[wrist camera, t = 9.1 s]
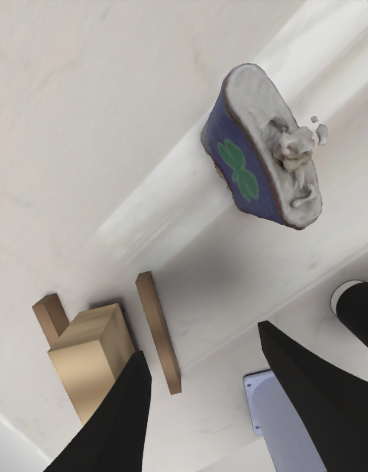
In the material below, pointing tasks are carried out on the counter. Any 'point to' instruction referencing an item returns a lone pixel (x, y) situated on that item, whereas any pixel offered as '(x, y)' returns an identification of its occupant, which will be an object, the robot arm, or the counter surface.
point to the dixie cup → (352, 307)
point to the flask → (263, 150)
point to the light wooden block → (92, 356)
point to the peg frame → (57, 322)
